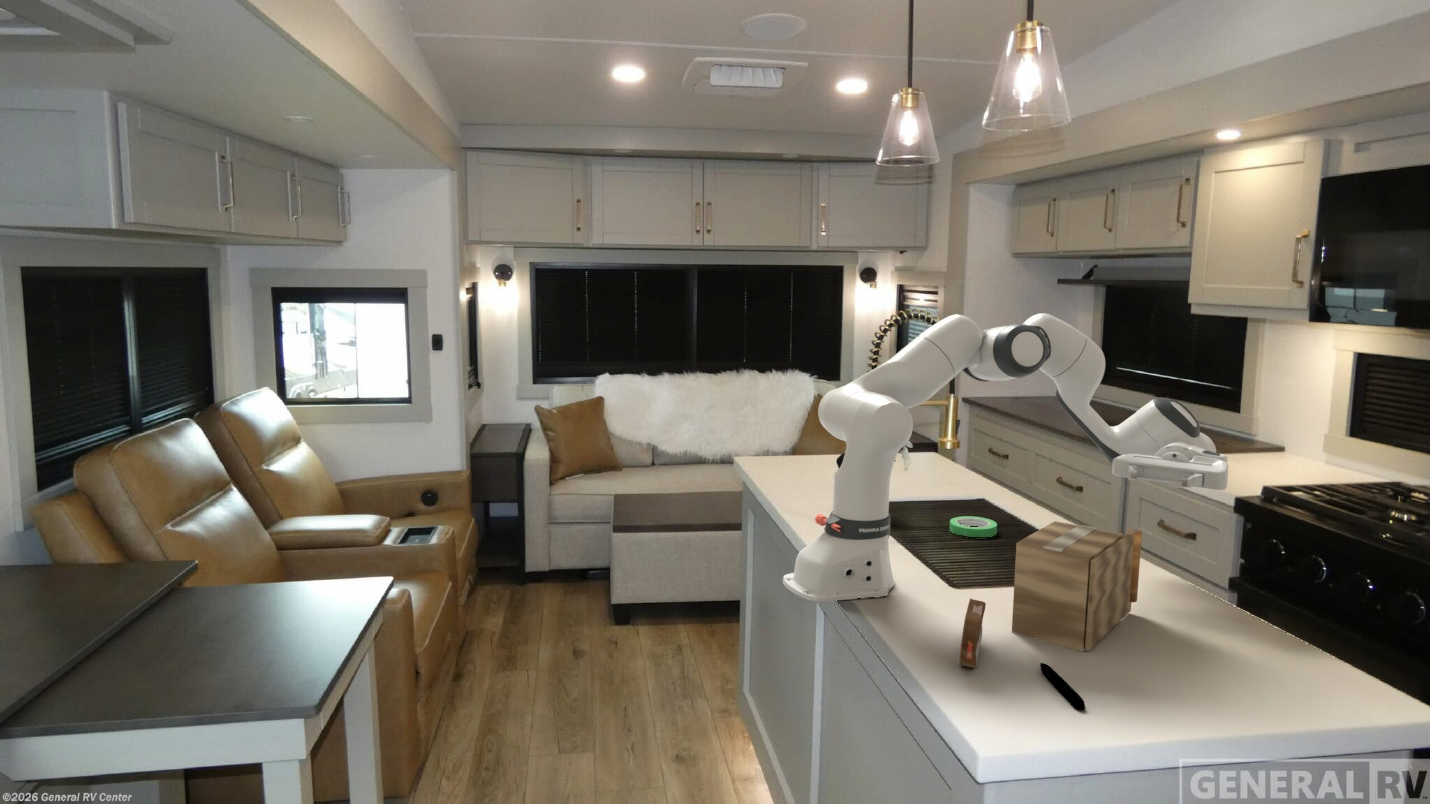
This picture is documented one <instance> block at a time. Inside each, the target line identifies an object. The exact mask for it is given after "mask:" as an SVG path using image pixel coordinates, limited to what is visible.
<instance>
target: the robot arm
mask: <svg viewBox="0 0 1430 804" xmlns="http://www.w3.org/2000/svg"><path fill="white" fill-rule="evenodd" d="M1038 370H1040V371H1041V372H1042V373H1043V374H1045V375H1046V376H1047V377H1049V378H1050V379H1051V380H1052V381H1053V383H1054V384H1055V385H1056V387H1057V388H1056V391H1055V396H1056V397H1055V398H1056V399H1057V402H1058V403H1059V405H1060V406H1061V408H1062V409H1063V410H1064V411H1065V413H1066V414H1067V415H1068V416H1069V417H1070V418H1071V420H1073V422H1075V424H1076V425H1077V426H1078V427H1079V428H1080V429H1081V431H1083V433H1085V435H1087V436H1088V437H1089V439H1090V440H1091V441H1092V442H1093V443H1094V444H1095V445H1096V446H1097V447H1098V448H1099V450H1100V451H1101V453H1102V454H1103V455H1104V456H1105V458H1106V459H1107V460H1108V461H1109V463H1110V464H1111V465H1112V467H1111V469H1112V470H1111V472H1112V475H1114V476H1115V477H1119V478H1127V480H1130V481H1138V480H1143V481H1150V482H1158V483H1162V484H1163V485H1166V486H1168V487H1171V488H1176V489H1181V488H1182V489H1183V488H1189V489H1191V488H1200V489H1201V488H1202V489H1208V490H1209V489H1210V490H1214V491H1215V490H1216V491H1217V490H1218V491H1225V490H1226V489H1227V487H1228V479H1229V463H1228V456H1227V455H1226V454H1224V453H1219V452H1217V448H1216V445H1215V443H1214V442H1213V440H1212V439H1211V438H1210V436H1208V435H1206V434H1205V433H1203V432H1201V428H1200V424H1199V422H1198V420H1197V419H1196V417H1195V416H1194V415H1193V414H1192V412H1191V411H1190V410H1189V409H1188V408H1187V407H1186V406H1184V405H1183V404H1182V403H1180V402H1178V401H1177V400H1174V399H1169V398H1166V397H1154V398H1153V399H1151V400H1150V401H1149V402H1147V403H1146V404H1145V405H1143V406H1141V408H1139V409H1138V410H1137V411H1135V413H1133V414H1132V415H1130V416H1129V417H1128V418H1126V419H1125V420H1124V421H1122V422H1121V423H1120V424H1118V425H1114V426H1111V425H1109V424H1108V423H1107V422H1106V420H1104V419H1103V418H1102V417H1101V416H1100V414H1098V413H1097V411H1096V410H1095V409H1094V408H1093V407H1092V406H1091V405H1090V403H1091V401H1092V398H1093V396H1094V395H1095V392H1096V391H1097V389H1098V388H1099V386H1100V385H1101V382H1102V380H1103V378H1104V375H1105V371H1106V358H1105V354H1104V352H1103V350H1102V348H1101V347H1100V346H1099V345H1098V344H1097V343H1096V342H1095V341H1094V340H1092V339H1091V338H1090V337H1088V336H1087V335H1086V334H1085V333H1083V332H1082V331H1080V330H1078V328H1076V327H1074V326H1073V325H1071V324H1069V323H1068V322H1066V321H1064V320H1062V319H1060V318H1058V317H1057V316H1054V315H1052V314H1049V313H1044V312H1043V313H1041V312H1040V313H1036V314H1034V315H1032V316H1030V317H1028V318H1027V319H1026V320H1025V321H1024V322H1023V323H1014V324H1010V325H1003V326H996V327H992V328H987V329H983V330H982V329H981V328H980V327H979V326H978V325H977V324H976V322H975V321H973V320H972V318H969V317H968V316H966V315H963V314H957V313H956V314H952V315H951V314H950V315H949V316H946V317H945V318H942V319H941V320H939V321H937V322H935V323H934V324H932V325H931V326H929V327H928V328H927V329H925V330H924V331H923V332H921V333H920V334H919V335H917V336H916V337H915V338H914V339H912V340H911V341H910V342H909V343H908V344H906V345H905V346H904V347H903V348H901V349H900V350H899V351H898V352H897V353H896V354H894V355H893V356H892V357H891V358H889V359H888V360H887V361H885V362H883V363H882V364H880V365H879V366H877V367H875V368H873V369H872V370H870V371H868V372H866V373H864V374H862V375H861V376H859V377H858V378H855V379H854V380H852V381H850V382H849V383H847V384H845V385H843V386H840V387H838V388H837V387H836V388H834V389H831V390H829V391H828V392H826V394H824V396H822V398H821V399H820V401H819V404H818V408H817V415H818V420H819V422H820V425H822V427H823V428H824V429H825V430H826V431H827V432H828V433H829V434H830V435H831V436H833V437H834V438H835V439H838V440H841V441H844V442H845V445H846V446H845V451H844V453H845V456H844V459H843V462H842V465H841V467H840V468H838V469H837V470H836V471H835V472H834V474H833V481H832V489H833V490H832V511H831V512H830V514H829V516H828V518H827V516H825V515H823V514H820V513H818V514H816V516H815V517H814V522H815V523H816V524H817V525H819V526H821V527H824V531H822V532H821V533H820V534H819V535H818V536H817V537H816V538H815V539H814V540H812V541H811V542H810V543H809V544H807V545H806V546H805V547H804V548H802V549H801V550H800V551H799V552H798V554H797V555H796V559H795V564H794V570H793V572H791V573H786V574H784V575H783V578H782V583H783V586H784V587H785V588H786V589H788V591H790V592H791V593H793V594H794V595H796V596H798V597H800V598H802V599H805V600H808V601H812V602H831V601H843V600H844V601H846V600H858V599H857V598H861V599H865V598H864V597H875V598H884V597H883V596H886V597H888V596H889V594H888V592H889V591H890V590H891V589H893V588H894V587H895V584H896V582H895V579H894V576H893V570H892V566H891V558H890V549H889V547H890V546H889V545H890V544H889V538H890V535H891V514H890V513H889V508H890V507H889V506H890V488H891V487H890V485H891V477H892V472H893V468H894V464H895V460H896V459H897V457H898V454H899V452H900V450H901V449H902V448H903V447H904V446H905V445H907V443H908V442H909V440H910V439H911V436H912V433H913V429H914V420H913V416H912V414H911V412H910V411H909V409H911V408H914V407H918V406H921V405H922V404H924V403H925V404H926V402H927V401H929V399H931V398H932V397H933V396H935V394H937V393H938V392H939V391H940V390H942V388H944V387H945V386H946V385H947V384H948V383H950V382H951V381H952V380H954V378H955V377H956V376H958V374H959V373H961V371H962V372H963V373H964V375H967V377H970V378H971V379H972V380H976V381H978V382H986V383H987V382H991V381H992V382H994V381H995V382H998V381H999V382H1006V381H1010V380H1011V381H1012V380H1014V379H1019V378H1020V379H1021V378H1026V377H1028V376H1030V375H1032V374H1034V373H1035V372H1036V371H1038ZM890 588H891V589H890ZM889 589H890V590H889ZM887 595H888V596H887ZM880 596H882V597H880ZM862 597H863V598H862Z"/></svg>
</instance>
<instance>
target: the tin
mask: <svg viewBox="0 0 1430 804" xmlns="http://www.w3.org/2000/svg"><path fill="white" fill-rule="evenodd" d="M986 604H987V603H986V601H982V600H978V599H973V598H969V601H968V605H967V609H966V612H965V617H964V620H963V621H964V623H963V628H962V634H961V643H960V650H959V660H958V665H959V666H961V667H962V666H963V667H968V668H973V669H974V668H976V667H977V665H978V660H979V657H980V656H979V655H980V650H981V644H982V637H983V619H984V615H985V612H986V606H987V605H986Z"/></svg>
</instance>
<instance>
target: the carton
mask: <svg viewBox="0 0 1430 804" xmlns="http://www.w3.org/2000/svg"><path fill="white" fill-rule="evenodd" d="M1123 537H1124V533H1122V532H1116V531H1111V530H1105V529H1100V528H1098V527H1095V526H1089V525H1084V524H1072V523H1067V522H1061V521H1057V520H1055V521H1053V522H1051V523H1049V524H1048V525H1045V526H1044V527H1042V528H1040V529H1039V530H1037V531H1034V532H1033V533H1032V534H1029V535H1028V536H1026V537H1024V538H1022V539H1020V540H1019V541H1017V542H1016V547H1015V548H1016V549H1015V560H1014V561H1015V563H1014V566H1015V567H1014V581H1013V583H1014V584H1013V586H1014V587H1013V598H1012V599H1013V600H1012V602H1013V604H1012V616H1011V617H1012V621H1011V623H1012V624H1011V633H1015V634H1018V635H1022V636H1025V637H1029V638H1032V639H1036V640H1040V641H1044V642H1047V643H1050V644H1054V645H1059V646H1062V647H1066V648H1069V649H1073V650H1076V651H1081V652H1084V651H1086V650H1085V642H1086V627H1087V612H1088V596H1089V581H1090V566H1091V560H1092V559H1094V558H1095V557H1096V556H1098V555H1099V554H1101V553H1102V552H1103V551H1105V550H1106V549H1108V548H1109V547H1110V546H1112V545H1113V544H1115V543H1116V542H1117V541H1119V540H1120V539H1122V538H1123Z"/></svg>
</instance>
